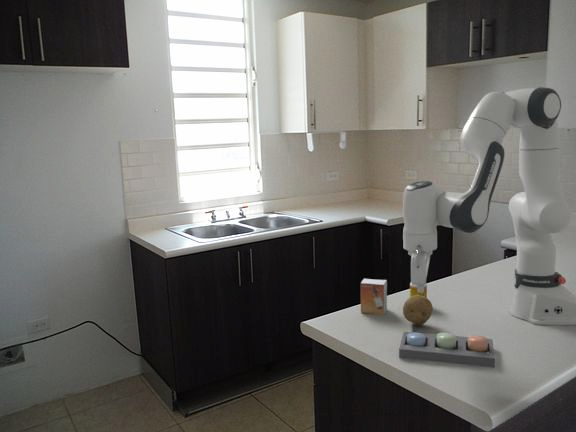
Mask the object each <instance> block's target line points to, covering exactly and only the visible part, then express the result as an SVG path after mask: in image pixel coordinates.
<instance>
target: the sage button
mask: <svg viewBox="0 0 576 432" xmlns="http://www.w3.org/2000/svg"><path fill="white" fill-rule="evenodd" d="M436 334H437V347H436V348H443V349H454V350H457V349H456V336H457V335H456V334H453V333H450V332H439V333H436Z"/></svg>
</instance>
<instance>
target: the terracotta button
mask: <svg viewBox="0 0 576 432" xmlns="http://www.w3.org/2000/svg"><path fill="white" fill-rule="evenodd" d="M467 337H468V350H467V351H475V352H486V353H488V352H487V351H488V339H489V338H487V337H485V336H484V335H479V334H478V335H477V334H473V335H469V336H467Z"/></svg>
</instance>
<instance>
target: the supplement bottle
mask: <svg viewBox="0 0 576 432" xmlns="http://www.w3.org/2000/svg"><path fill="white" fill-rule="evenodd" d="M427 289H428V284H427V283H426V284H425V288H424V292H418V291H417V285H412V283H411V282H410V283H409V298H410V297H411V296H414V295H422V296H425V297H426V298H427V295H428V293H427V292H428V290H427ZM427 299H428V298H427Z"/></svg>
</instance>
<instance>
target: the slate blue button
mask: <svg viewBox="0 0 576 432" xmlns="http://www.w3.org/2000/svg"><path fill="white" fill-rule="evenodd" d="M421 333H422V332H415V333H409V334H408V335H407V344H406V345H412V346H422V347H426V346H425V340H426V337H425V335H423V334H421Z"/></svg>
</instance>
